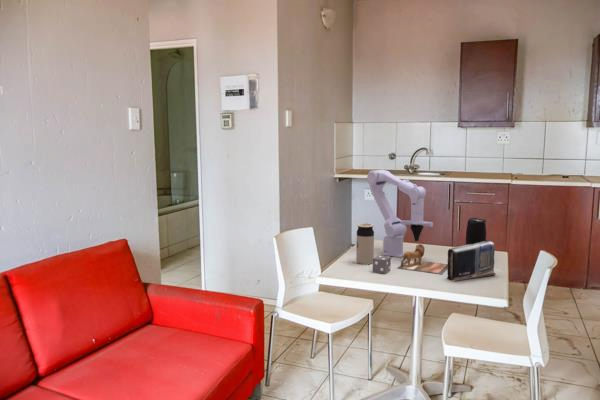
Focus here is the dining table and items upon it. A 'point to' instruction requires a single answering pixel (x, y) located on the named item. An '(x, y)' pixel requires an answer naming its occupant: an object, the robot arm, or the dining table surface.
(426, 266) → the board
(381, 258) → the die
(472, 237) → the portable speaker
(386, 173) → the robot arm
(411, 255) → the lion figurine
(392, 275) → the dining table surface
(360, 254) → the travel mug
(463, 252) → the radio
